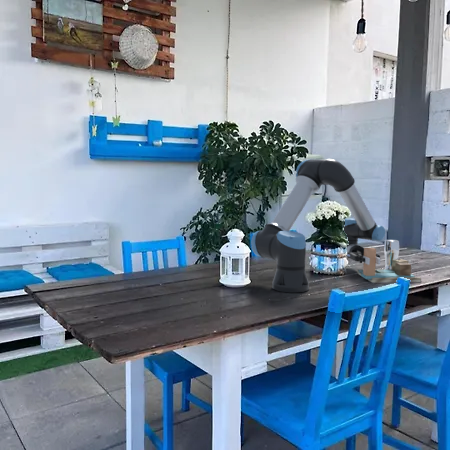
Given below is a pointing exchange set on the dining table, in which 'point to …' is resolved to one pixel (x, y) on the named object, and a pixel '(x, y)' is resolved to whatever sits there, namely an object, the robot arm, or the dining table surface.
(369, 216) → the robot arm
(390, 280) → the lane board
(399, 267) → the walnut block
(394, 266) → the oak block
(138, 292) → the dining table surface
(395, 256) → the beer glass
